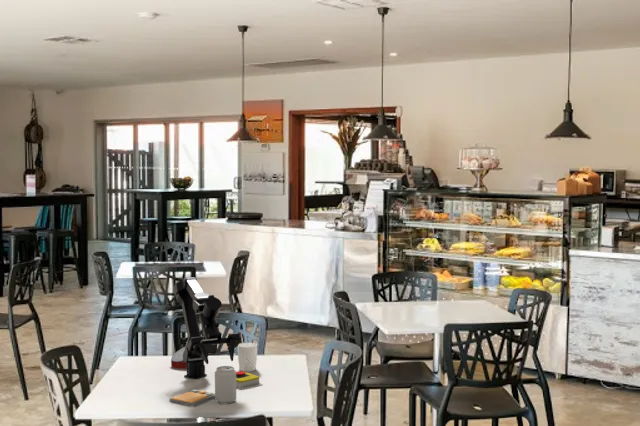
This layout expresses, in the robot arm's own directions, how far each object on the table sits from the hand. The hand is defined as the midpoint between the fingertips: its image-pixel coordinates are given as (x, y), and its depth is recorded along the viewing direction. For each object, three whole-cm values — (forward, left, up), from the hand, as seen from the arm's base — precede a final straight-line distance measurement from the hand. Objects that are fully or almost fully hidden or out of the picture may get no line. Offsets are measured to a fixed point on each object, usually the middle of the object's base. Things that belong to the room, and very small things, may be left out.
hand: (220, 362), depth 293 cm
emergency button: (-4, +18, -13) cm, 23 cm away
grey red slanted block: (-40, +26, -13) cm, 50 cm away
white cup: (-14, +35, -13) cm, 40 cm away
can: (+5, -3, -13) cm, 14 cm away
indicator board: (-6, -7, -13) cm, 16 cm away
